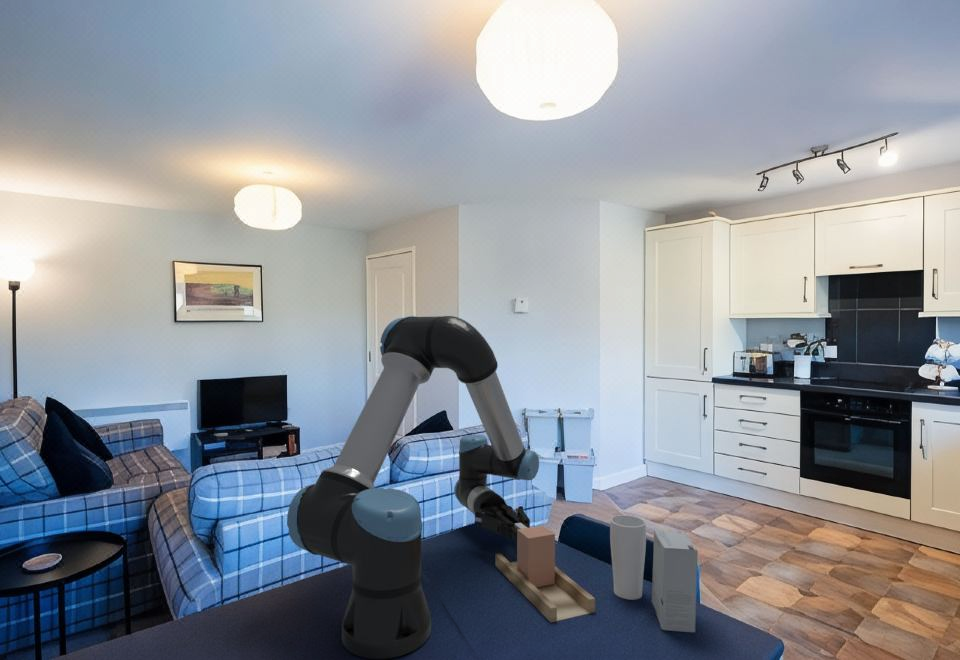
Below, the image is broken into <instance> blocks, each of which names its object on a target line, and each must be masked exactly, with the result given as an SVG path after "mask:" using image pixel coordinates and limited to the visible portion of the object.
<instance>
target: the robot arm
mask: <svg viewBox="0 0 960 660" xmlns="http://www.w3.org/2000/svg"><path fill="white" fill-rule="evenodd" d="M380 343H381V346H380V347H379V350H380V355H381V358H380V359H381V364H382V367H383V369H382V372H381V373H380V375H379V377H378V379H377V381H376V383H375V385H374V387H373V388H372V391H370V392H371V393H370V394H369V396H368V398H367V399H366V402H365V405H364V406H363V408H362V410H361V412H360V414H359V416H358V418H357V420H356V422H355V424H354V425H353V428H352V429H351V431H350V432H349V433H350V434H349V435H348V437H347V439H346V441H345V443H344V445H343V447H342V449H341V451H340V452H339V454H338V456H337V459H336V461H335V462H334V465H333V466H331V467H328V468H325V469H323V470H322V471H321V472H320V475H319V476H318V478H317V480H316V482H315V483H313V484H308V485H306V486H305V487H304V488H301V489H300V490H298V491H297V492H296V494H295V495H294V496H293V498H292V499H291V501H290V504H289V507H288V511H287V517H286V525H287V528H288V535H289V538H290V540H291V541H292V543H294V545H295V546H297V548H298V547H299V548H300V549H301V550H304V551H306V552H307V553H310V554H312V555H314V556H321V557H324V558H327V559H331V560H334V561H337V562H341V563H344V564H347V565H350V566H352V589H351V594H350V598H349V601H348V603H347V606H346V610H345V613H344V616H343V619H342V623H341V642H342V645H343V647H344V648H345V649H346V650H347V651H349V653H351V654H353V655H355V656H357V657H359V658H365V659H371V660H386V659H394V658H397V657H402V656H404V655H407V654H410V653H412V652H414V651H416V650H417V649H419V648H421V647H422V646H423V645H424V644H425V643H426V642H427V641H428V639H429V637H430V635H431V632H432V617H431V615H432V614H431V611H430V609H429V608H430V607H429V605H428V601H427V599H426V596H425V593H424V589H423V586H422V534H423V533H422V531H423V521H422V513H421V511H422V509H421V507H420V502H419V501H418V499H416V498H415V496H413V495H411V494H410V493H408V492H406V491H403V490H400V489H397V488H396V489H395V488H390V487H389V488H383V487H375V482H376V479H377V478H378V474H379V472H380V471H381V469H382V466H383V464H384V462H385V460H386V457H387V456H388V453H389V451H390V449H391V447H392V444H393V442H394V441H395V438H396V435H397V434H398V431H399V430H400V427H401V425H402V422H403V420H404V418H405V416H406V414H407V412H408V410H409V407H410V405H411V404H412V401H413V399H414V396H415V395H416V392H417V390H418V388H419V386H420V385H421V384H425V383H427V382H428V381H429V380H430V378H431V376H432V374H433V371H434V370H435V369H437V368H438V369H450V370H451V371H453V372H454V373H455V375H456V377H457V380H458V381H459V382H460V383H462V384H465V386H466V389H467V391H468V394H469V396H470V399H471V401H472V404H473V405H474V408H475V410H476V412H477V414H478V416H479V417H478V418H479V419H480V422H481V424H482V426H483V429H484V431H485V433H486V435H487V437H486V436H485V435H481V434H467V435H464V436H462V437H461V438H460V440H459V447H458V449H459V451H458V457H459V458H458V461H459V463H458V465H459V466H458V468H459V469H458V472H459V473H458V474H459V477H458V479H457V481H456V482H455V485H454V489H453V490H454V491H453V492H454V495H455V496H454V497H455V498H456V500H458V502H459V503H460V505H462V506H463V507H465V509H467V510H469V511H470V512H471V514H473V515H474V524H475V525H478V526H481V527H483V528H485V529H488V530H489V531H491V532H493V533H495V534H497V535H500V536H503V537H504V536H505V534H507V536H508V537H507V538H508V539H509V540H513V539H516V540H517V529H524V528H530V527H531V519H530V518H529V517H528V515H527V514H526V512H525V511H524V506H518V507H516V508H513V507H512V506H510V505H508V503H506V501H505V499H504V497H503V496H501V495H500V494H498V493H497V492H495V491H494V490H492V489H491V488H490V487H488V486H487V485H488V484H487V483H488V479H487V478H488V475H489V476H499V477H503V478H508V479H513V480H518V481H520V480H522V481H533V480H534V479H535V478H536V477H537V474H538V472H539V468H540V458H539V454H538V453H537V452H535V451H534V450H531V449H526V448H525V445H524V443H523V440H522V438H521V435H520V433H519V430H518V427H517V425H516V422H515V419H514V417H513V413H512V411H511V408H510V406H509V403H508V401H507V398H506V395H505V393H504V390H503V388H502V387H503V386H502V384H501V381H500V379H499V377H498V373H497V370H498V367H499V366H498V361H497V358H496V355H495V353H494V351H493V349H492V347H491V346H490V343H488V341H487V339H485V337H484V336H483V335H482V333H480V331H478V329H477V328H476V327H474V326H473V325H472V324H470V323H469V322H467V321H466V320H464V319H462V318H461V317H457V316H453V315H442V316H441V315H439V316H414V315H413V316H412V315H410V316H405V317H400V318H399V317H398V318H395V319H394V320H392V321H390V322H389V323H388V324H387V325H386V327H385V328H384V330H383V332H382V334H381V337H380ZM487 438H488V439H487ZM488 441H489V442H490V444H489V442H488Z"/></svg>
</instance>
